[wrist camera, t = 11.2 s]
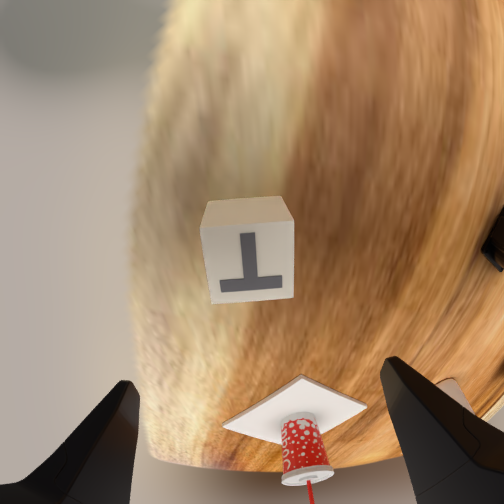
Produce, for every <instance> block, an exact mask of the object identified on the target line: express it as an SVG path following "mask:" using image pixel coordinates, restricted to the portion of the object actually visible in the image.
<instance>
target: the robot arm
mask: <svg viewBox="0 0 504 504" xmlns="http://www.w3.org/2000/svg"><path fill="white" fill-rule="evenodd" d="M482 254H483V255H484V256H485V257H486V258H487V259H488V260H489V261H490V262H491V263H492V264H493V265H494V266H495V267H496V268H497V270H498V271H500V272H502V271H503V270H504V208H503V210H502V212H501V215H500V217H499V218H498V220H497V222H496V224H495V226H494V228H493V230H492V232H491V234H490V235H489V237H488V239H487V241H486V243H485V244H484V246H483V248H482ZM380 378H381V382H382V386H383V390H384V395H385V399H386V403H387V407H388V411H389V414H390V418H391V420H392V423H393V426H394V429H395V432H396V435H397V438H398V441H399V444H400V447H401V450H402V453H403V456H404V459H405V462H406V466H407V469H408V472H409V476H410V479H411V483H412V485H413V490H414V493H415V496H416V501H417V504H504V432H502V431H501V430H499V429H497V428H495V427H493V426H492V425H490V424H488V423H487V422H485V421H484V420H482V419H480V418H479V417H477V416H476V415H475V414H473V413H472V412H470V411H469V410H468V409H466V408H465V407H463V406H462V405H461V404H460V403H458V402H457V401H456V400H454V399H453V398H452V397H450V396H449V395H448V394H446V393H445V392H444V391H442V390H441V389H440V388H438V387H437V386H436V385H434V384H433V383H432V382H430V381H429V380H428V379H426V378H425V377H424V376H422V375H421V374H420V373H418V372H417V371H416V370H415V369H413V368H412V367H411V366H409V365H408V364H407V363H405V362H404V361H403V360H401V359H400V358H399V357H397V356H393V357H389V358H386V359H385V361H384V364H383V366H382V369H381V372H380ZM139 407H140V395H139V393H138V391H137V389H136V388H135V386H134V384H133V383H132V382H131V381H128V380H121V381H119V382H118V383H117V384H116V385H115V386H114V388H113V389H112V390H111V391H110V392H109V393H108V394H107V395H106V396H105V397H104V398H103V400H102V401H101V402H100V403H99V404H98V405H97V406H96V407H95V408H94V409H93V410H92V411H91V413H90V414H89V415H88V416H87V417H86V418H85V419H84V420H83V421H82V422H81V423H80V425H79V426H78V427H77V428H76V429H75V430H74V431H73V432H72V433H71V434H70V436H69V437H68V438H67V439H66V440H65V442H63V443H62V444H61V445H60V446H59V448H58V449H57V450H56V451H55V452H54V453H53V454H52V455H51V456H50V457H49V458H48V459H46V460H45V461H44V462H43V463H42V464H41V465H40V466H39V467H37V468H36V469H35V470H34V471H33V472H32V473H31V474H30V475H28V476H27V477H26V478H24V479H23V480H21V481H19V482H16V483H10V484H3V485H0V504H129V502H130V492H131V483H132V475H133V467H134V459H135V452H136V445H137V438H138V427H139Z"/></svg>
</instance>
